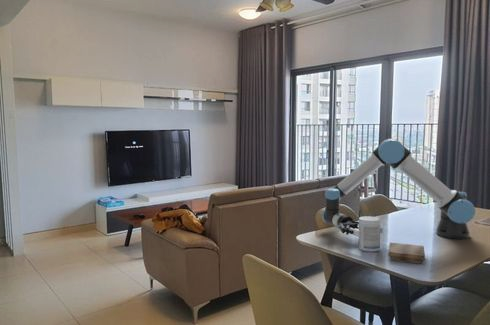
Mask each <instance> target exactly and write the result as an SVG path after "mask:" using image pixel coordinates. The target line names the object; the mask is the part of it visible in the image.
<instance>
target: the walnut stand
mask: <svg viewBox="0 0 490 325" xmlns="http://www.w3.org/2000/svg"><path fill="white" fill-rule="evenodd" d="M387 254H388V256H392V257H391V260H392V261H395V262H403V263H411V264H419V265H420V264H421V262H422V261H421V260H426V254H425V246H424V245H420V244H419V245H417V244H408V243H399V242H398V243H397V242H389V246H388V253H387Z"/></svg>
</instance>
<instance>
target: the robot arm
mask: <svg viewBox="0 0 490 325" xmlns="http://www.w3.org/2000/svg"><path fill="white" fill-rule="evenodd" d="M412 156H413V155H412V152H411V151H410V150H409V149H408V148H407V147H406V146H404V145H403V144H402V142H401V141H399V140H398V139H394V138H386V139H384V140H382V141H381V143H380V144H379V145H378V146H377V147H376V148H375V149H374V150H373V151H372V152H371V155H370V156H369V157H367V159H365V160H364V161H363V162H362V163H361V164H360V165H359V166H357V167H356V168H355V169H354V170H352V171H351V172H350V173H349V174H348V175H347V176H345V178H343V179H342V180H341V181H340V182H338V184H337V185H335V186H334V187H332V188H326V189H325V195H324V196H325V198H324V199H325V207H324V208H325V209H324V210H323V211H322V213H321V219H322V221H323V222H324V223H326V224H327V225H330V226H334V227H336V228H338V229H339V230H340V231H341V233H342V234H346V235H347V236H348V235H352V236H355V237H358V238H359V220H358V221H357V220H354V219H353V217H351V216H349V215H346V214H344V213H341V212H340V209H341V208H340V204H341V203H340V202H341V200H342V199H343V198H344V197H345V196H346V195H348V194H350V192H351V191H353V190H354V189H355V188H356V187H358V186H359V184H361V183H362V182H364V180H366V179H367V178H368V177H369V176H371V175H372V174H373V173H374V172H376V171H377V170H378V169H379V168H380V167H382V166H386V164H388V166H389V167H391V168H392V169H394V170H399V171H400V172H402V173H403V174H404V176H406V178H408V179H409V180H411V182H413V183H414V184H415V185H417V187H419V188H420V189H421V190H422V191H424V192H425V193H426V194H427V195H428V196H429V197H430V198H432V200H433V201H434V202H436V205H437V208H438V209H439V210H440V220H439V221H438V224H437V227H436V229H435V230H436V232H435V233H436V235H437V236H441V237H444V238H448V239H458V240H459V239H460V240H463V239H464V240H465V239H468V238H470V230H469V227H468V224H467V223H469V222H471V221H472V220H473V219H474V218H475V215H476V209H475V205H474V204H473V203H472V202H471V201H470V200H468V199H467V198H468V194H467V192H465V191H457V190H456V189H451V188H449V187H448V186H446V185H445V184H444V183H443V181H441V180H440V179H438V178H437V177H436V176H435V175H433V174H432V172H430V171H429V170H428V169H427V168H426V167H424V166H423V165H422V164H420V163H419V162H418V160H416V159H415V158H413V157H412ZM380 234H384V227H382V226H380Z"/></svg>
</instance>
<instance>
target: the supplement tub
mask: <svg viewBox="0 0 490 325" xmlns="http://www.w3.org/2000/svg"><path fill="white" fill-rule="evenodd" d="M358 222H359V225H358V227H359V229H358V231H359V237H358V248H359V249H360V250H361V251H364V252H368V253H369V252H370V253H373V252H379V251H380V250H381V233H380V227H381V219H380V218H379V217H376V216H370V215H367V216H366V215H365V216H360V217H359V218H358Z"/></svg>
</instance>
